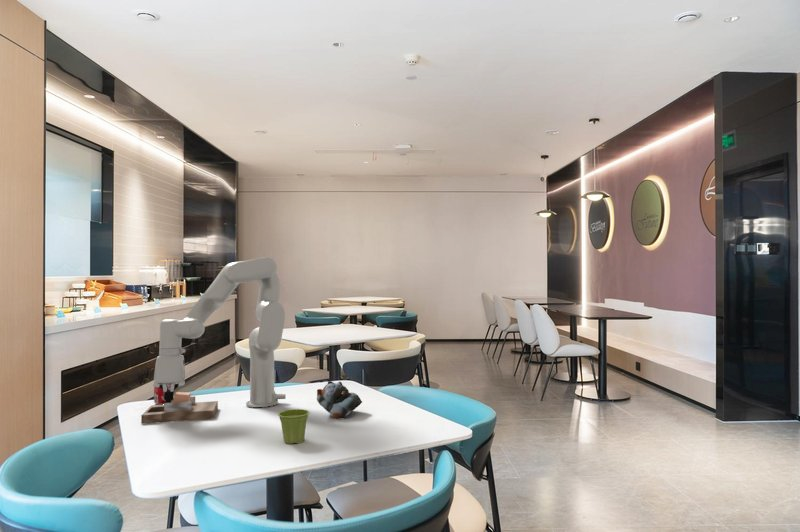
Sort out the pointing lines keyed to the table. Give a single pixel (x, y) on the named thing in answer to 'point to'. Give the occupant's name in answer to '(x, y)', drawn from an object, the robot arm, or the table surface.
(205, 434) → the table surface
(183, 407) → the board
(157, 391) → the soda can
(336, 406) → the grey plush figure
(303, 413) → the plant pot
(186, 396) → the block
